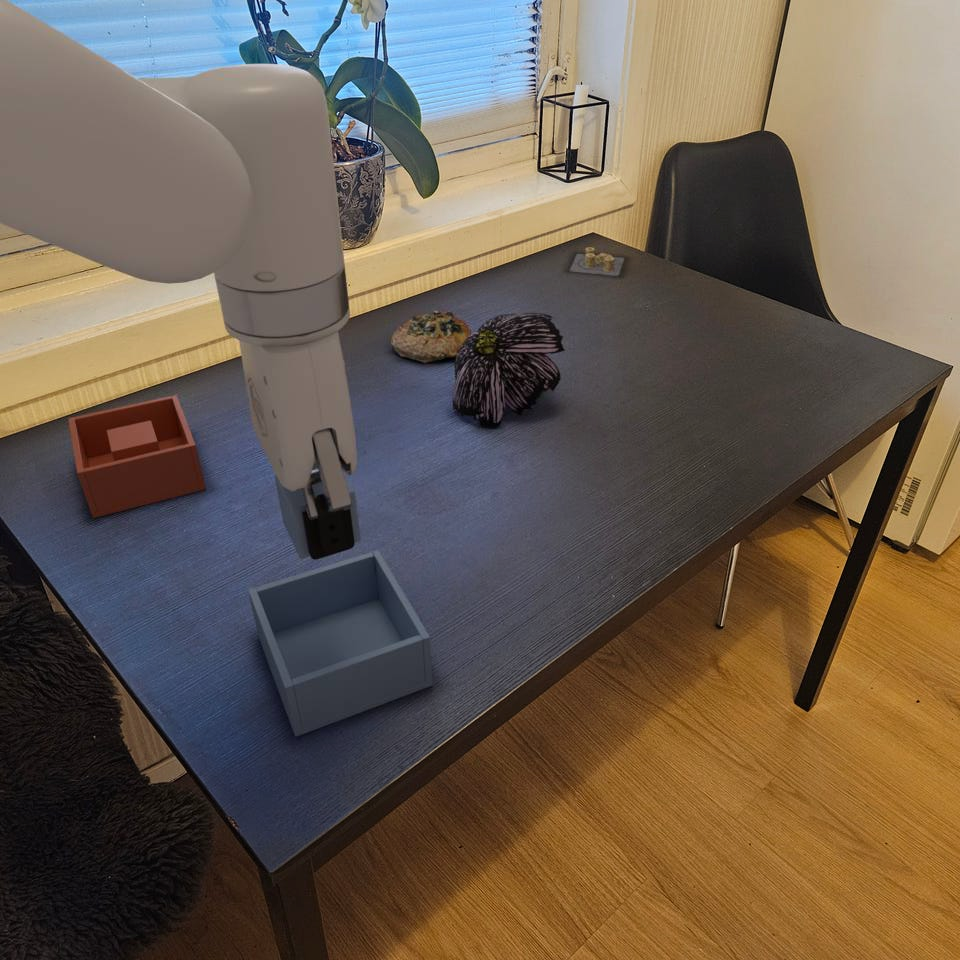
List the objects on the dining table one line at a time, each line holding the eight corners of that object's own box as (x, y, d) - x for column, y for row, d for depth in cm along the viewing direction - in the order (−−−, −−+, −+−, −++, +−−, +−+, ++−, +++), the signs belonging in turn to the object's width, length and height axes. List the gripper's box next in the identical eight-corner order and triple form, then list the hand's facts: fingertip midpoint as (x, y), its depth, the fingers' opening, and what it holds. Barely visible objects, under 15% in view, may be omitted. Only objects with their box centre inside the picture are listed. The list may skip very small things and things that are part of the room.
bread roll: (444, 318, 120) (445, 288, 117) (488, 357, 114) (490, 326, 110) (377, 341, 115) (375, 310, 112) (419, 383, 109) (419, 352, 105)
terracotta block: (122, 487, 87) (111, 451, 84) (117, 465, 90) (106, 429, 87) (167, 476, 88) (157, 440, 86) (160, 454, 92) (150, 420, 89)
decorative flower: (418, 313, 99) (536, 270, 99) (442, 376, 109) (550, 337, 109) (447, 400, 91) (576, 352, 91) (471, 460, 100) (588, 417, 100)
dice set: (612, 272, 135) (613, 260, 134) (580, 268, 136) (581, 257, 135) (616, 260, 139) (617, 249, 138) (585, 257, 140) (586, 246, 139)
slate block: (300, 559, 58) (291, 509, 56) (283, 523, 62) (273, 474, 59) (361, 541, 60) (355, 491, 57) (341, 506, 63) (334, 457, 61)
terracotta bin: (93, 518, 84) (77, 473, 80) (82, 461, 92) (68, 418, 88) (206, 489, 88) (195, 444, 84) (187, 436, 96) (176, 394, 92)
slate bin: (295, 737, 62) (284, 688, 59) (258, 637, 71) (247, 589, 67) (432, 685, 66) (430, 636, 63) (383, 597, 74) (378, 549, 71)
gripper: (193, 259, 55) (242, 482, 66) (257, 371, 42) (304, 623, 53) (304, 240, 57) (334, 458, 68) (394, 341, 45) (413, 586, 56)
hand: (320, 528), depth 61 cm, fingers closed on slate block, 4 cm apart
